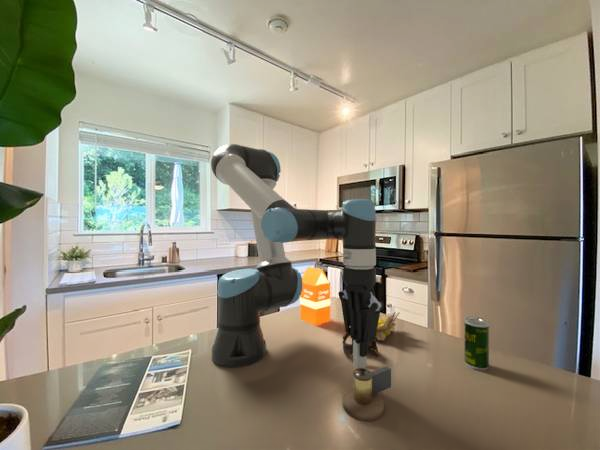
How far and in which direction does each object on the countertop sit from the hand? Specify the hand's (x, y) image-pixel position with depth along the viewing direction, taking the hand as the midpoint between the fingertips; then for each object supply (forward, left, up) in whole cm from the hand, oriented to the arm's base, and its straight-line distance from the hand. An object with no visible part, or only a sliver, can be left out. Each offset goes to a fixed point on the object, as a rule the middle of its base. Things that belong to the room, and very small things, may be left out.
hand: (359, 367), depth 63 cm
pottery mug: (-6, +15, -4) cm, 16 cm away
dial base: (+4, -7, -4) cm, 9 cm away
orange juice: (-30, +29, -4) cm, 42 cm away
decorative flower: (-5, +30, -4) cm, 31 cm away
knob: (+5, -5, -2) cm, 7 cm away
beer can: (+22, +24, -4) cm, 33 cm away
